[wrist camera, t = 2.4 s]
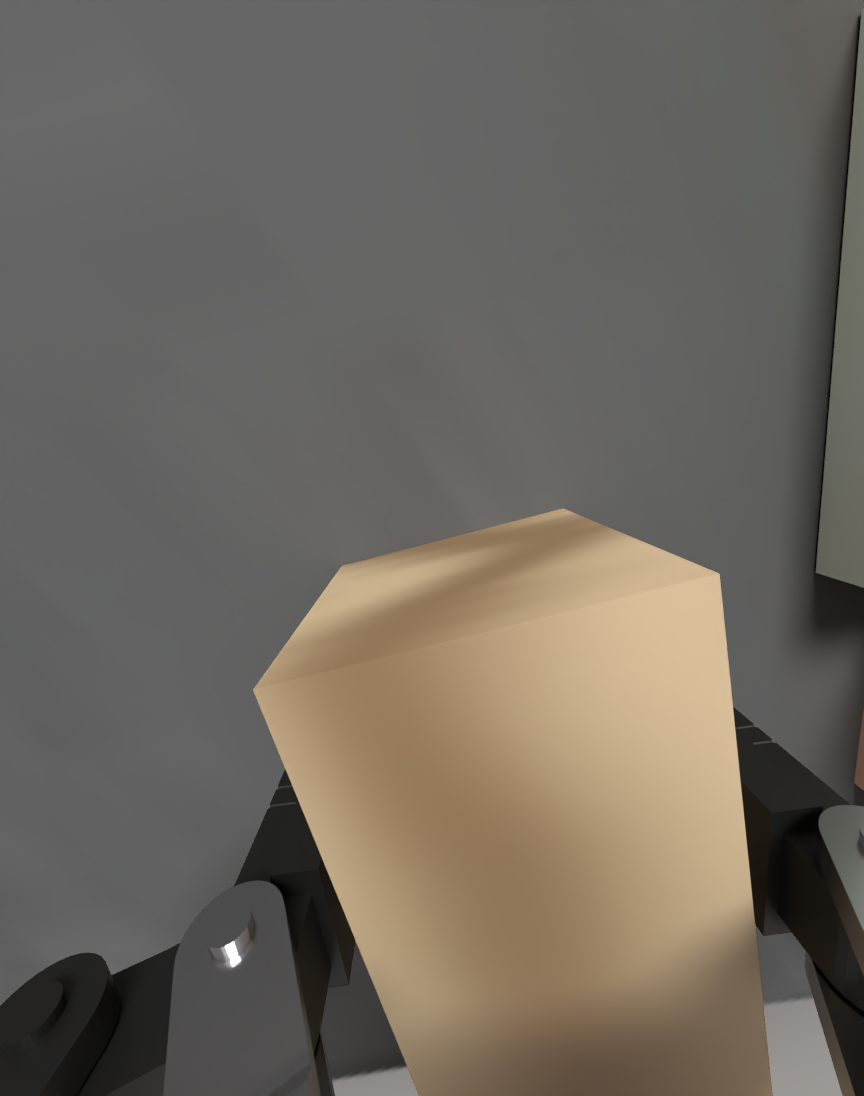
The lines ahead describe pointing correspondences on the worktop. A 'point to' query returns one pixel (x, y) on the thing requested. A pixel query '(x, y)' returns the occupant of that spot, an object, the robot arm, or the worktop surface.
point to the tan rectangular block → (534, 810)
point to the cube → (860, 758)
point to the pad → (847, 381)
